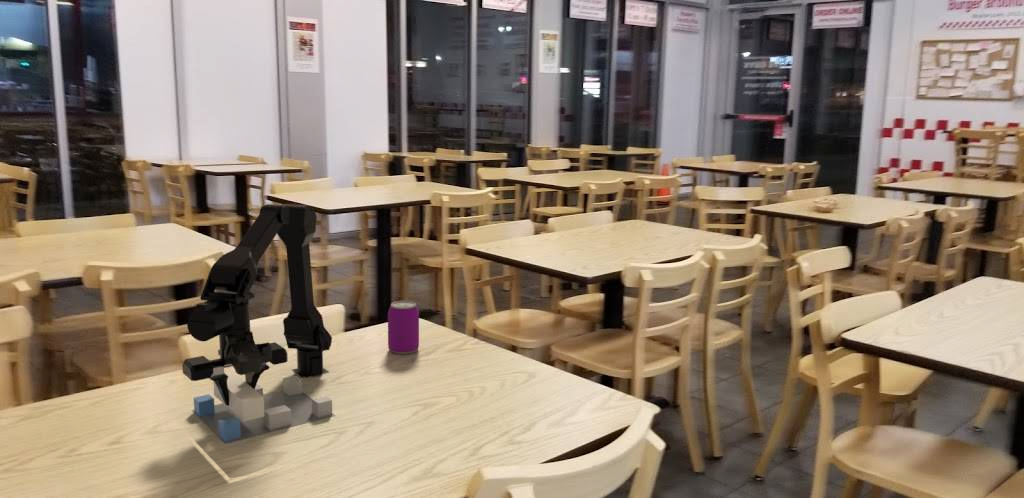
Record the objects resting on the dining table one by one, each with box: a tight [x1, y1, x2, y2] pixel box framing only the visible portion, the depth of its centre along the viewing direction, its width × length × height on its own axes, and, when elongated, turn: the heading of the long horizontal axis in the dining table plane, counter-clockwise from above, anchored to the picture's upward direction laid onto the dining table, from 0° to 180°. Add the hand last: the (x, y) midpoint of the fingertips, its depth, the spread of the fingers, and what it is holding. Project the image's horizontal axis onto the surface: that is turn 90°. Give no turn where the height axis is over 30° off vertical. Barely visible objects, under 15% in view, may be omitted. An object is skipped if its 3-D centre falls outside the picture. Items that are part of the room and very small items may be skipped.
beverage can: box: [387, 300, 420, 355], centre depth 204 cm, size 8×8×12 cm
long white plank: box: [212, 372, 264, 421], centre depth 160 cm, size 16×4×4 cm, turn 39°
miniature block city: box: [191, 375, 336, 445], centre depth 163 cm, size 19×22×4 cm
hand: (238, 402), depth 160 cm, fingers closed on long white plank, 4 cm apart
